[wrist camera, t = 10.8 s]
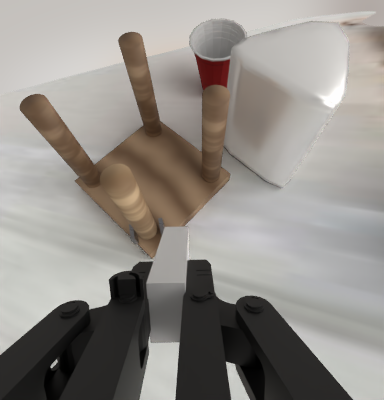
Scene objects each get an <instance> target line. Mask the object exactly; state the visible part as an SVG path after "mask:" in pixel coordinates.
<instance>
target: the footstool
mask: <svg viewBox="0 0 384 400" xmlns="http://www.w3.org/2000/svg"><path fill="white" fill-rule="evenodd" d="M118 41H119V45H120V49H121V52H122V55H123V59H124V62H125V65H126V69H127V72H128V75H129V78H130V82H131V85H132V88H133V92H134V95H135V98H136V102H137V105H138V108H139V111H140V115H141V118H142V121H143V126H142V127H141V128H140V129H138V130H137V131H136V132H135V133H133V134H132V135H131V136H130V137H129V138H127V139H126V140H125V141H124V142H122V143H121V144H120V145H119V146H117V147H116V148H115V149H114V150H112V151H111V152H110V153H109V154H107V155H106V156H105V157H104V158H102V159H101V160H100V161H99V162H98V163H96V164H95V165H94V164H93V162H92V161H91V160H90V158H89V157H88V155H87V154H86V153H85V151H84V150H83V148H82V147H81V146H80V144H79V143H78V141H77V140H76V139H75V137H74V136H73V134H72V133H71V131H70V130H69V129H68V127H67V126H66V124H65V123H64V122H63V120H62V119H61V117H60V116H59V115H58V113H57V112H56V110H55V109H54V108H53V106H52V105H51V103H50V102H49V101H48V99H47V98H46V97H45V96H44V95H41V94H33V95H30V96H28V97H26V98H25V99H24V100H23V101H22V102H21V104H20V111H21V112H22V113H23V114H24V115H25V116H26V118H27V119H28V120H29V121H30V122H31V123H32V124H33V125H34V127H35V128H36V129H37V130H38V131H39V132H40V133H41V134H42V136H43V137H44V138H45V139H46V140H47V141H48V142H49V144H50V145H51V146H52V147H53V148H54V149H55V150H56V151H57V153H58V154H59V155H60V156H61V157H62V158H63V159H64V160H65V162H66V163H67V164H68V165H69V166H70V167H71V168H72V169H73V171H74V172H75V173H76V174H77V175H78V176H79V178H78V179H76V180H75V182H76V183H77V184H78V185H79V186H80V187H81V188H82V189H83V190H84V191H85V192H86V193H87V194H88V195H89V196H90V197H91V198H92V199H93V200H94V201H95V202H96V203H97V204H98V205H99V206H100V207H101V208H102V209H103V210H104V211H105V212H106V213H107V214H108V215H109V216H110V217H111V218H112V219H113V220H114V221H115V222H116V223H117V224H118V225H119V226H120V227H121V228H122V229H123V230H124V231H125V232H126V233H127V234H128V235H129V236H130V230H129V224H130V223H129V222H128V221H127V219H126V218H125V217H124V215H123V214H122V213H121V211H120V210H119V209H118V207H117V206H116V205H115V203H114V202H113V200H112V199H111V198H110V196H109V195H108V194H107V192H106V191H105V190H104V188H103V187H102V186H101V184H100V175H101V173H102V172H103V170H104V169H105V168H107V167H108V166H110V165H113V164H124V165H126V166H127V167H129V169H130V170H131V172H132V174H133V176H134V178H135V180H136V182H137V185H138V187H139V189H140V191H141V193H142V195H143V197H144V199H145V201H146V203H147V206H148V208H149V210H150V212H151V214H152V216H153V218H154V220H155V222H156V224H157V227H158V230H157V233H156V235H155V236H154V237H153V238H151V239H147V240H146V239H142V238H140V237H139V235H138V240H139V244H138V245H139V246H140V247H141V248H142V249H143V250H144V251H145V252H146V253H147V254H148V255H149V256H150V257H151V258H153V257H154V256H155V255H156V252H157V249H158V246H159V243H160V240H161V237H162V235H161V232H160V226H159V220H158V218H162V219H163V221H164V224H165V227H182V226H185V225H186V224H187V223H188V222H189V221H190V220H191V219H192V218H193V217H194V216H195V215H196V214H197V212H198V211H199V210H200V209H201V208H202V207H203V206H204V205H205V204H206V203H207V202H208V201H209V200H210V199H211V198H212V197H213V196H214V195H215V194H216V193H217V192H218V191H219V190H220V189H221V188H222V187H223V186H224V185H225V184H226V183H227V182H228V181H229V178H230V173H229V172H227V171H226V170H225V169H223V168H222V167H221V161H222V154H223V146H224V139H225V131H226V123H227V116H228V108H229V101H230V92H229V90H228V89H227V88H226V87H224V86H221V85H211V86H208V87H207V88H206V89H205V90H204V91H203V93H202V152H201V151H199V150H198V149H197V148H195V147H194V146H193V145H191V144H190V143H189V142H187V141H186V140H185V139H183V138H182V137H181V136H179V135H178V134H177V133H175V132H174V131H173V130H171V129H170V128H169V127H167V126H166V125H165V124H163V123H162V122H161V121H160V119H159V114H158V109H157V105H156V100H155V95H154V90H153V86H152V81H151V76H150V72H149V67H148V62H147V57H146V53H145V48H144V43H143V39H142V36H141V35H140V34H139V33H136V32H128V33H125V34H123V35H122V36H121V37H120V38H119V40H118Z"/></svg>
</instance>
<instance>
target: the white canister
mask: <svg viewBox="0 0 384 400" xmlns="http://www.w3.org/2000/svg"><path fill="white" fill-rule="evenodd" d="M349 44H350V43H349V39H348V38H347V36H346V34H345V33H344V31H343V29H342V28H341V26H340V24H339V23H338V22H322V21H309V22H305V23H300V24H296V25H292V26H287V27H283V28H279V29H275V30H272V31H268V32H265V33H261V34H258V35H254V36H250V37H247V38H244V39H243V40H241V41H240V42H239V43H237V44H236V45H234V46H233V47H232V48H231V57H230V66H229V74H228V83H227V89H228V90H229V92H230V101H229V108H228V116H227V123H226V131H225V139H224V147H225V148H226V149H227V151H228V152H229V153H230V154H231V155H233V156H234V157H235V158H236V159H238V160H239V161H240V162H242V163H243V164H244V165H246V166H247V167H248V168H249V169H251V170H252V171H253V172H255V173H256V174H257V175H258V176H260V177H261V178H262V179H264V180H265V181H266V182H269V183H271V184H273V185H275V186H278V187H280V188H283V187H284V186H285V185H286V184H287V183H288V182H289V181H290V180H291V178H292V176H293V175H294V173H295V172H296V170H297V169H298V167H299V166H300V164H301V163H302V161H303V160H304V158H305V157H306V155H307V154H308V152H309V151H310V149H311V148H312V146H313V145H314V143H315V142H316V140H317V139H318V137H319V136H320V134H321V133H322V131H323V130H324V128H325V127H326V125H327V124H328V122H329V120H330V119H331V117H332V116H333V114H334V113H335V111H336V110H337V108H338V107H339V105H340V104H341V102H342V101H343V99H344V98H345V96H346V89H347V81H348V73H349Z"/></svg>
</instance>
